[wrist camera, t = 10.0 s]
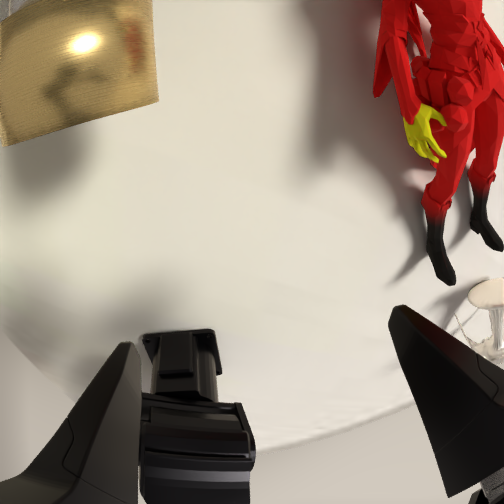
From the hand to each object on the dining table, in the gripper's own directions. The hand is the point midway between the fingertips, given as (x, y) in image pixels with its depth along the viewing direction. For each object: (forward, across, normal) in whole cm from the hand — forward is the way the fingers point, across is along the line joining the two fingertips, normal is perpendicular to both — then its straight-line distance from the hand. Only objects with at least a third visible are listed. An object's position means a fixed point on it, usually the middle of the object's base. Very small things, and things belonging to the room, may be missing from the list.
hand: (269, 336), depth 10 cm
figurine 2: (+12, -28, +14) cm, 34 cm away
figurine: (+13, -14, -8) cm, 20 cm away
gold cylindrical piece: (+7, +6, -11) cm, 14 cm away
